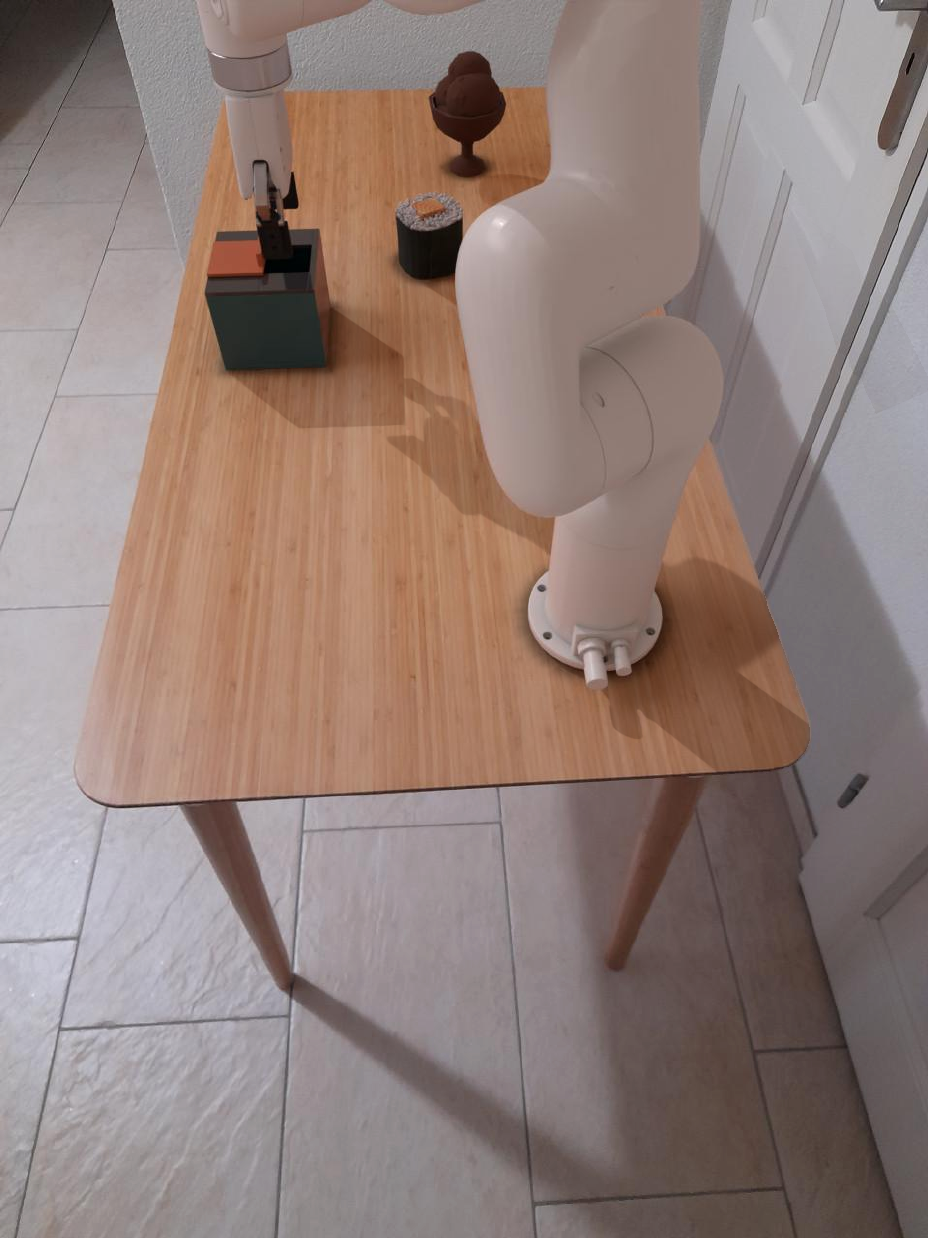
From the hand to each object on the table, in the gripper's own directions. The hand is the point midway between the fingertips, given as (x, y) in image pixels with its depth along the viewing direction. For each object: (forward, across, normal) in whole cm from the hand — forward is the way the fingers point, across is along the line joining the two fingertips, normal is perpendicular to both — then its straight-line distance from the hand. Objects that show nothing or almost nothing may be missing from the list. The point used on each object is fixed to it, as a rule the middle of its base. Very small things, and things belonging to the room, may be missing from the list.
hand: (281, 231), depth 97 cm
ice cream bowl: (+14, -39, +22) cm, 47 cm away
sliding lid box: (+14, 0, -3) cm, 14 cm away
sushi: (+14, -15, +16) cm, 26 cm away
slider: (+3, 0, -6) cm, 6 cm away
